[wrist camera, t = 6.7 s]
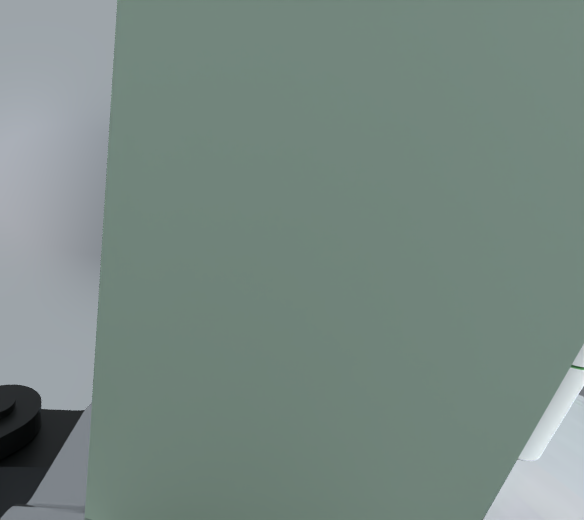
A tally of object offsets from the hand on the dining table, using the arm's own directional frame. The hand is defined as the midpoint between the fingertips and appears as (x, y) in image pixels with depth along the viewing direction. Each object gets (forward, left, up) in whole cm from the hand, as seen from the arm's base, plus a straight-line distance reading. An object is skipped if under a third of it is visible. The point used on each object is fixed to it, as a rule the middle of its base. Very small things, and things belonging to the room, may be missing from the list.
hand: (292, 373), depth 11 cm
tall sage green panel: (+2, +2, -10) cm, 10 cm away
